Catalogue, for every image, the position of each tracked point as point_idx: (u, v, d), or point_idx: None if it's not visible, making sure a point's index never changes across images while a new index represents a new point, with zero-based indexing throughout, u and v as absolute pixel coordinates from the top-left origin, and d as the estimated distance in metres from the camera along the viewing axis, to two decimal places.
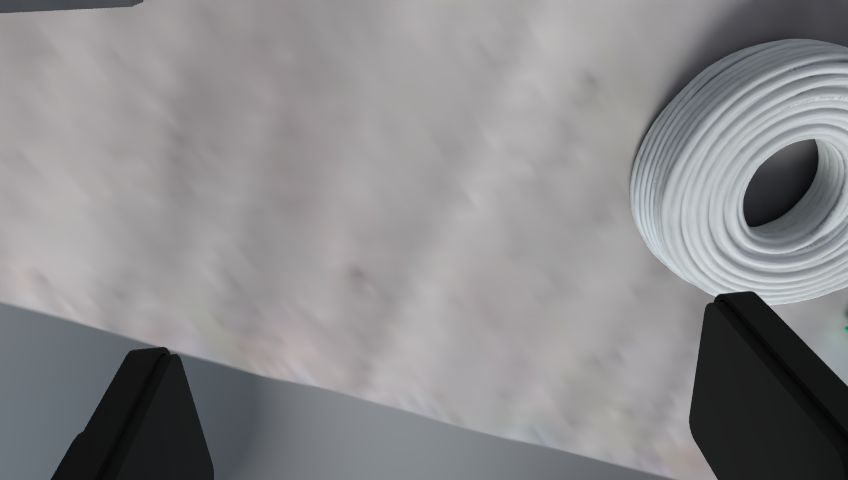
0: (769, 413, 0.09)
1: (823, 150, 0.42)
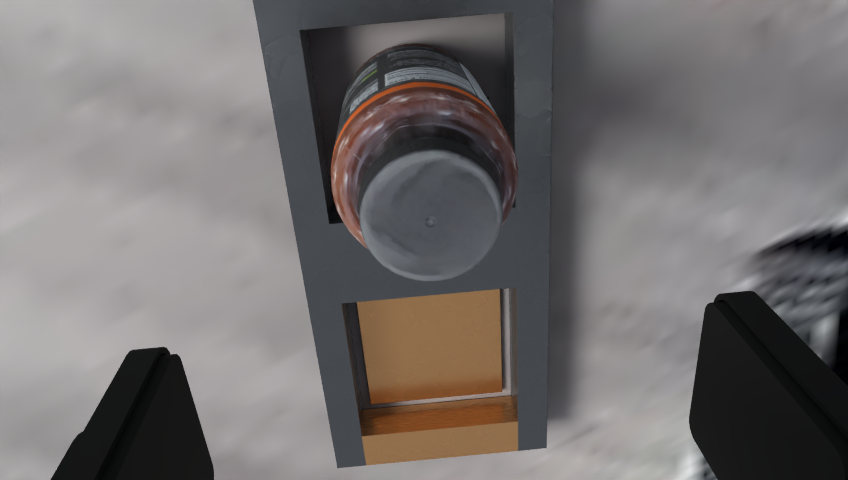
0: (769, 413, 0.09)
1: None
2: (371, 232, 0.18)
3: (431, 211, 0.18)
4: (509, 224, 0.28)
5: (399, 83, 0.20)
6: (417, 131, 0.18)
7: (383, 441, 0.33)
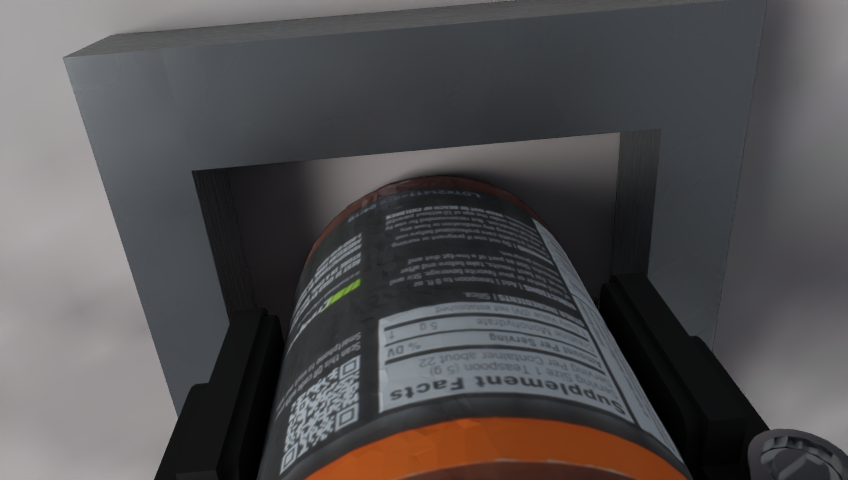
0: (641, 382, 0.10)
1: None
2: None
3: None
4: None
5: (423, 414, 0.07)
6: None
7: None
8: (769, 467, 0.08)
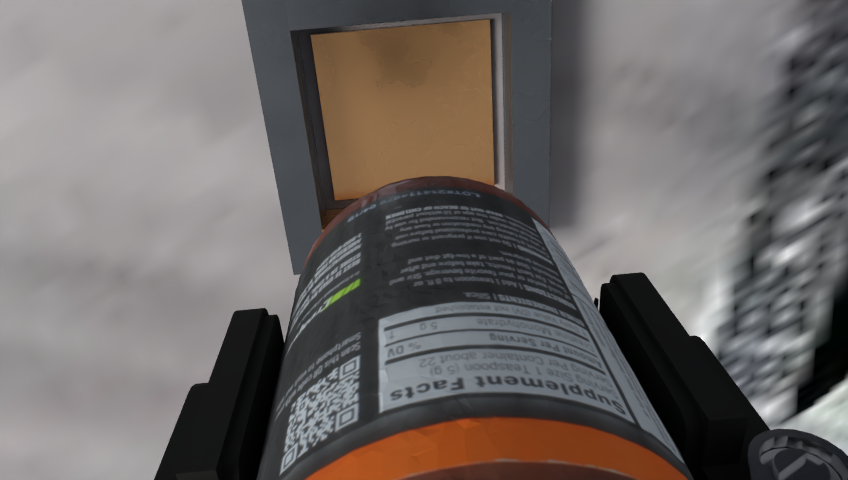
0: (641, 382, 0.10)
1: None
2: None
3: None
4: None
5: (423, 415, 0.07)
6: None
7: None
8: (769, 467, 0.08)
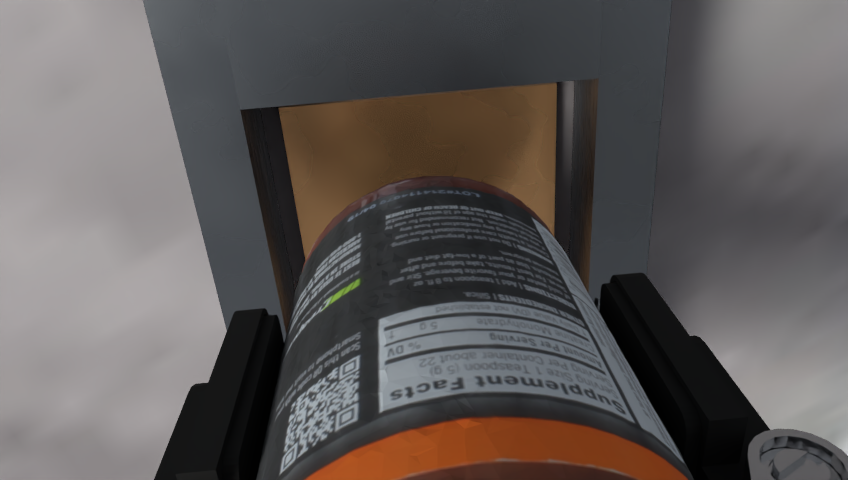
0: (641, 382, 0.10)
1: None
2: None
3: None
4: None
5: (422, 414, 0.07)
6: None
7: None
8: (769, 467, 0.08)
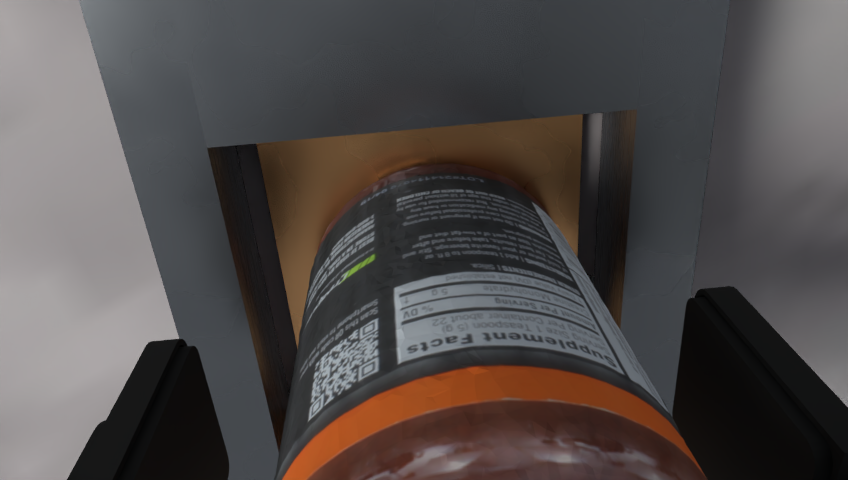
0: (746, 406, 0.10)
1: None
2: None
3: None
4: None
5: (436, 364, 0.08)
6: None
7: None
8: None
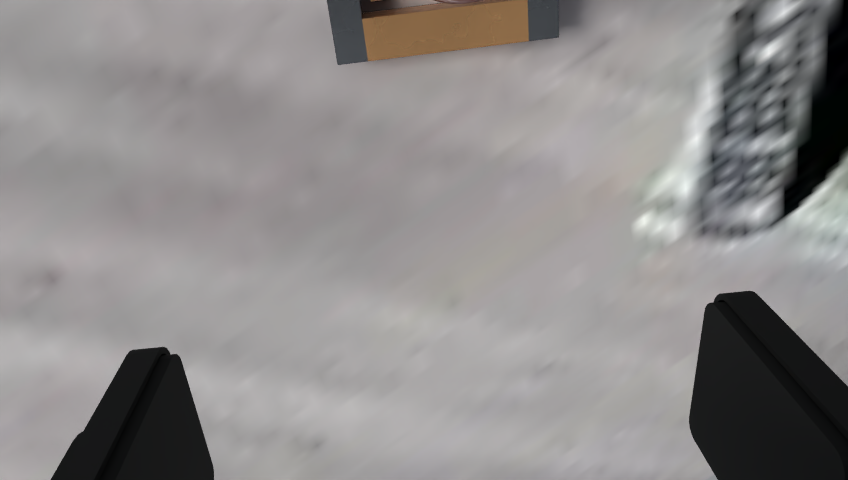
0: (769, 413, 0.09)
1: None
2: None
3: None
4: None
5: None
6: None
7: (385, 26, 0.31)
8: None
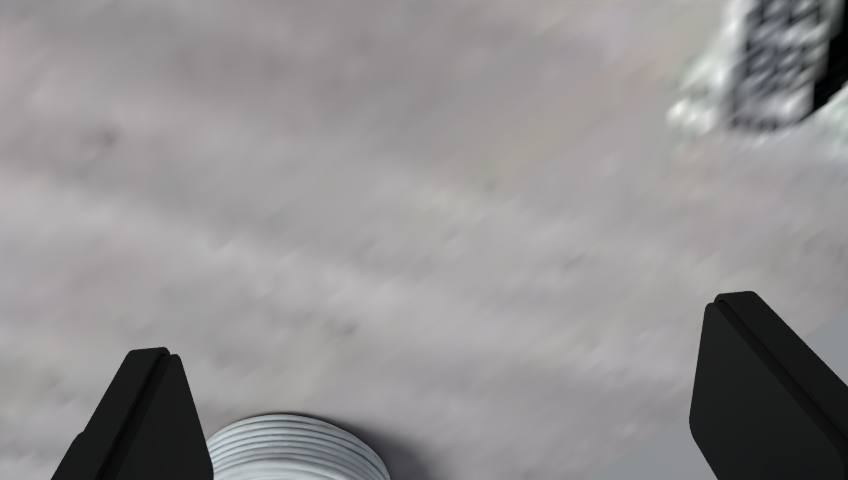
0: (769, 413, 0.09)
1: None
2: None
3: None
4: None
5: None
6: None
7: None
8: None
